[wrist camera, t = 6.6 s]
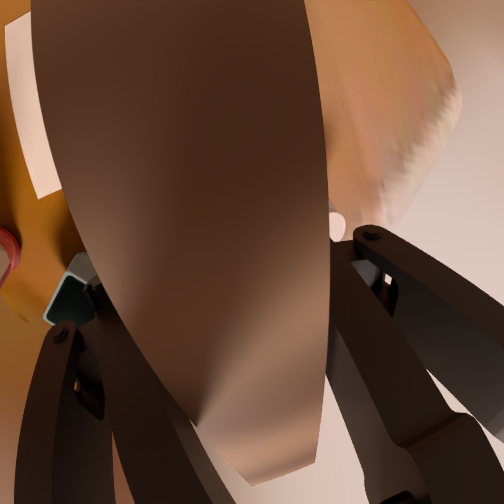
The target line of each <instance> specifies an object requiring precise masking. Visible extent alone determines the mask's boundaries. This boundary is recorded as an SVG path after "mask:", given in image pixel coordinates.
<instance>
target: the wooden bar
mask: <svg viewBox="0 0 504 504" xmlns="http://www.w3.org/2000/svg"><path fill="white" fill-rule="evenodd" d="M31 39H32V53H33V63H34V71H35V79H36V85H37V92H38V98H39V103H40V108H41V113H42V118H43V123H44V127H45V131H46V135H47V139H48V143H49V147H50V151H51V154H52V158H53V161H54V165H55V168H56V171H57V174H58V178H59V181H60V184H61V187H62V190H63V193H64V195H65V198H66V201H67V204H68V207H69V209H70V212H71V215H72V217H73V220H74V222H75V225H76V227H77V230H78V232H79V234H80V237H81V239H82V242H83V244H84V246H85V248H86V251H87V253H88V255H89V257H90V259H91V262H92V264H93V266H94V268H95V270H96V272H97V274H98V276H99V278H100V280H101V282H102V284H103V286H104V288H105V290H106V292H107V294H108V296H109V298H110V300H111V301H112V303H113V305H114V307H115V309H116V311H117V312H118V314H119V316H120V318H121V319H122V321H123V323H124V325H125V326H126V328H127V330H128V331H129V333H130V335H131V336H132V338H133V340H134V341H135V343H136V344H137V346H138V348H139V349H140V351H141V352H142V354H143V355H144V357H145V359H146V360H147V362H148V363H149V365H150V366H151V368H152V369H153V370H154V372H155V373H156V375H157V376H158V378H159V379H160V381H161V382H162V383H163V385H164V386H165V388H166V389H167V390H168V392H169V393H170V394H171V396H172V397H173V398H174V400H175V401H176V402H177V404H178V405H179V406H180V408H181V409H182V410H183V411H184V413H185V414H186V415H187V416H188V418H189V419H190V420H191V421H192V422H193V424H194V425H195V426H196V427H197V429H198V430H199V431H200V432H201V433H202V435H204V437H205V438H206V439H207V440H208V441H209V443H210V444H211V445H212V446H213V447H214V448H215V449H216V450H217V451H218V453H219V454H220V455H221V456H222V457H223V458H224V459H225V460H226V461H227V462H228V463H229V464H230V465H231V466H232V467H233V468H234V469H235V470H236V471H237V472H238V473H239V474H240V475H241V476H242V477H243V478H244V479H245V480H246V481H247V482H248V483H249V484H250V485H251V486H254V485H257V484H260V483H263V482H266V481H269V480H272V479H274V478H278V477H280V476H283V475H286V474H288V473H291V472H293V471H296V470H298V469H301V468H303V467H306V466H308V465H310V464H313V463H314V462H315V457H316V451H317V444H318V437H319V429H320V422H321V413H322V404H323V394H324V383H325V372H326V359H327V344H328V325H329V297H330V226H329V198H328V179H327V163H326V150H325V138H324V128H323V118H322V109H321V100H320V92H319V85H318V77H317V70H316V64H315V57H314V51H313V45H312V40H311V34H310V29H309V24H308V18H307V14H306V9H305V4H304V0H31Z"/></svg>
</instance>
